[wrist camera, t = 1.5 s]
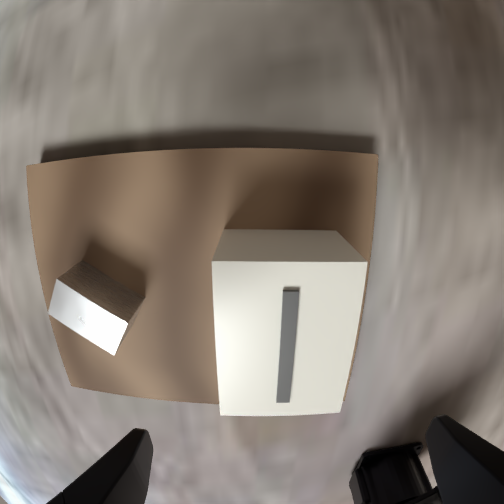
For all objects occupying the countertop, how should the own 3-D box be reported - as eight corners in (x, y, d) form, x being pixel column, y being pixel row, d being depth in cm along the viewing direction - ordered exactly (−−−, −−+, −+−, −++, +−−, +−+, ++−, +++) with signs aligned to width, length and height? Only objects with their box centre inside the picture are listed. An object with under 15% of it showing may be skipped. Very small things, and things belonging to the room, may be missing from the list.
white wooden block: (82, 259, 17) (56, 278, 14) (145, 297, 18) (127, 323, 15) (72, 291, 18) (47, 313, 15) (131, 327, 18) (114, 355, 15)
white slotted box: (336, 230, 16) (369, 263, 11) (322, 355, 19) (340, 414, 14) (223, 229, 16) (211, 263, 11) (227, 356, 19) (220, 418, 14)
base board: (368, 154, 17) (378, 154, 15) (340, 387, 21) (344, 400, 20) (39, 163, 17) (26, 165, 15) (79, 374, 21) (71, 386, 20)
